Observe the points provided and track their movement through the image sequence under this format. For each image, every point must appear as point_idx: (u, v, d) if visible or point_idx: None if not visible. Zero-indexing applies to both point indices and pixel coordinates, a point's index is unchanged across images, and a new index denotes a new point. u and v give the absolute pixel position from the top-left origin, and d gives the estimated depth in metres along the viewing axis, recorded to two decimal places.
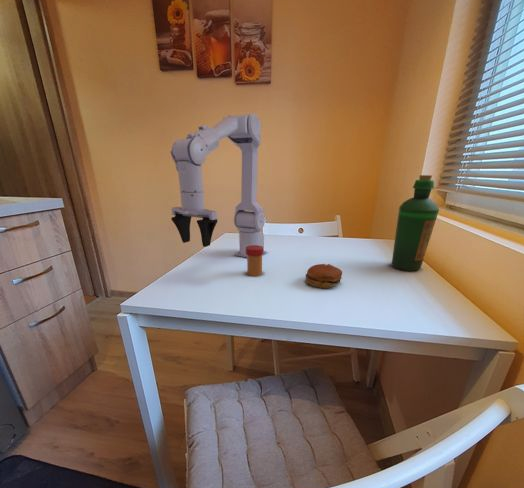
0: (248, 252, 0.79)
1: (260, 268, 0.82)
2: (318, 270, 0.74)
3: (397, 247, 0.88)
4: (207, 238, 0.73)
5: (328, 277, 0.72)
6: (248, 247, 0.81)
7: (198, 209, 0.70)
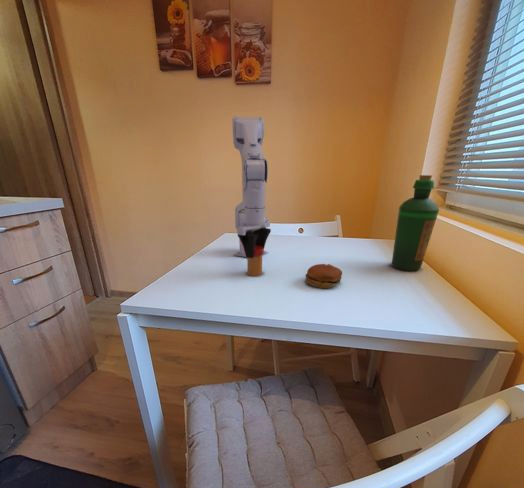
0: None
1: (260, 268, 0.82)
2: (318, 270, 0.74)
3: (397, 247, 0.88)
4: None
5: (328, 277, 0.72)
6: None
7: None
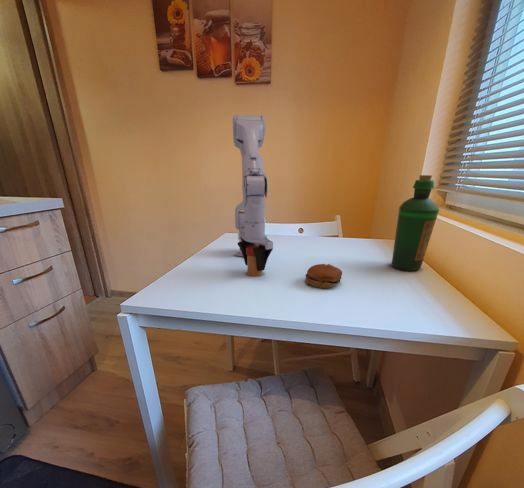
0: None
1: None
2: (318, 270, 0.74)
3: (397, 247, 0.88)
4: None
5: (328, 277, 0.72)
6: (252, 248, 0.79)
7: None
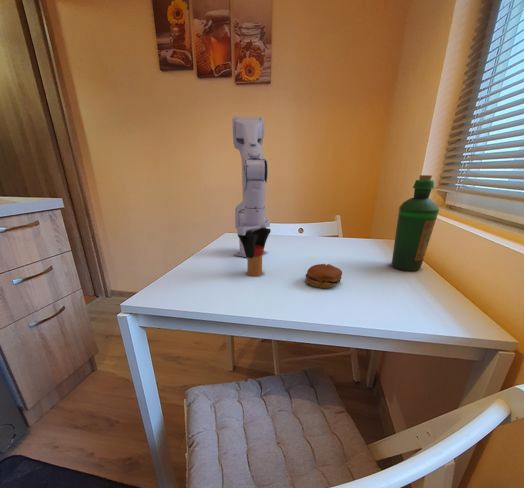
0: (258, 253, 0.79)
1: (261, 267, 0.82)
2: (318, 270, 0.74)
3: (397, 247, 0.88)
4: None
5: (328, 277, 0.72)
6: None
7: None
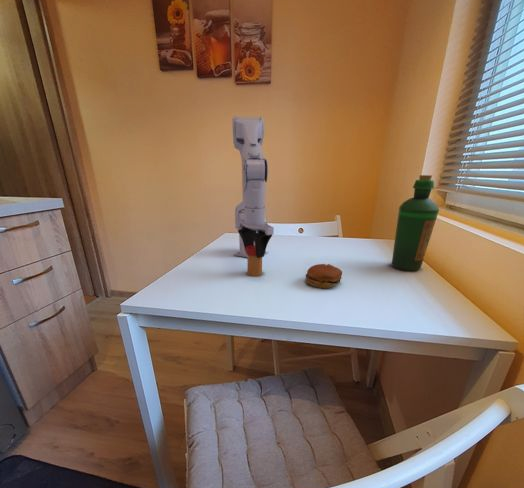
0: None
1: (261, 267, 0.82)
2: (318, 270, 0.74)
3: (397, 247, 0.88)
4: None
5: (328, 277, 0.72)
6: None
7: None
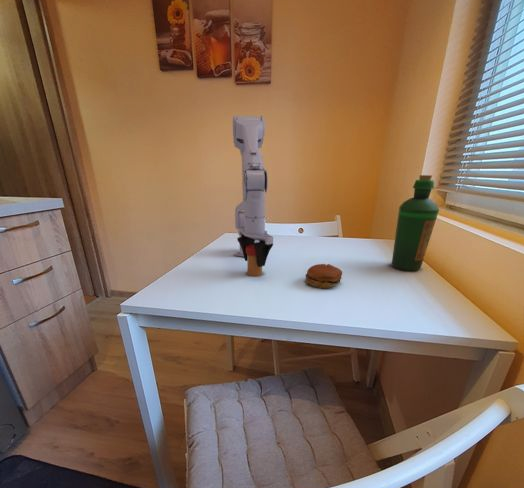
0: None
1: (261, 267, 0.82)
2: (318, 270, 0.74)
3: (397, 247, 0.88)
4: None
5: (328, 277, 0.72)
6: None
7: None
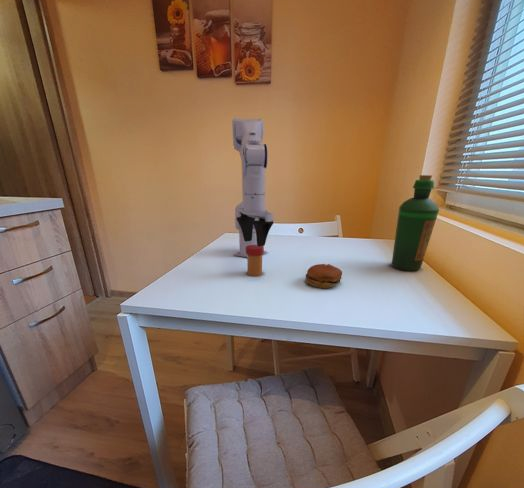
0: (263, 250, 0.81)
1: (261, 267, 0.82)
2: (318, 270, 0.74)
3: (397, 247, 0.88)
4: None
5: (328, 277, 0.72)
6: (259, 248, 0.80)
7: None
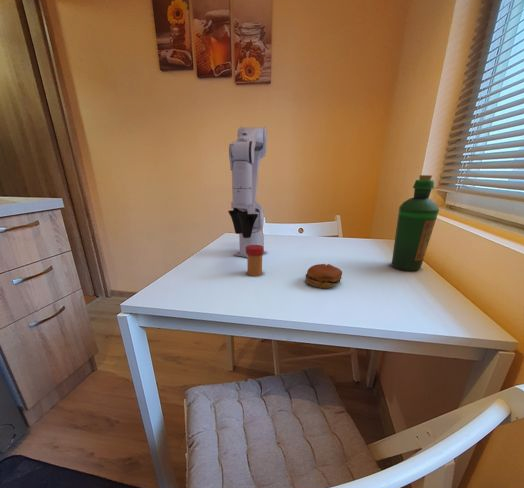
0: (263, 250, 0.81)
1: (261, 267, 0.82)
2: (318, 270, 0.74)
3: (397, 247, 0.88)
4: None
5: (328, 277, 0.72)
6: (259, 248, 0.80)
7: None
